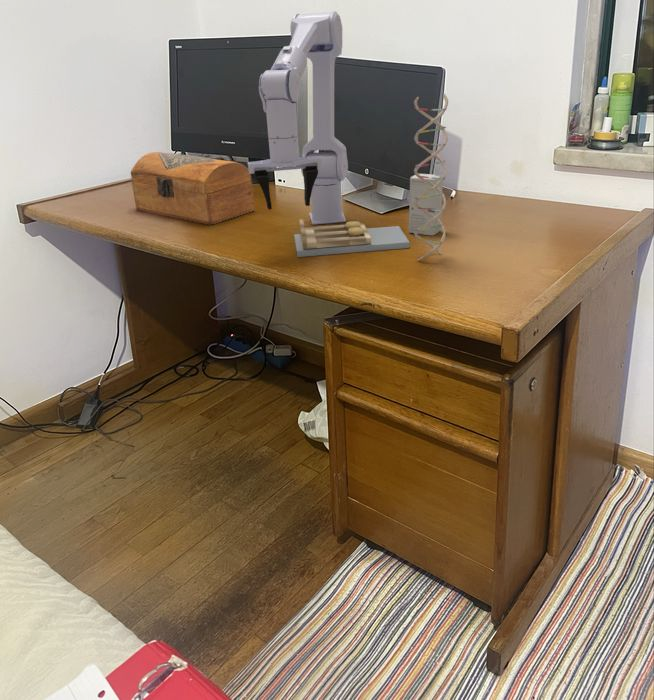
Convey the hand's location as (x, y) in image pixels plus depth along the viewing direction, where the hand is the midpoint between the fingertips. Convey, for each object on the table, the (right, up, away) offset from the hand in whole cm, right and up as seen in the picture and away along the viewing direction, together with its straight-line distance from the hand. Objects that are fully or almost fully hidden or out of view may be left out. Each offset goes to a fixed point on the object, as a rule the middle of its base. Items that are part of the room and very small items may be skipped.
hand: (288, 206), depth 138 cm
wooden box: (-27, +7, +39) cm, 48 cm away
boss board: (+13, -6, +7) cm, 16 cm away
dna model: (+28, -11, -4) cm, 30 cm away
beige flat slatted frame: (+9, -5, +6) cm, 12 cm away
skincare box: (+29, -3, +12) cm, 32 cm away
